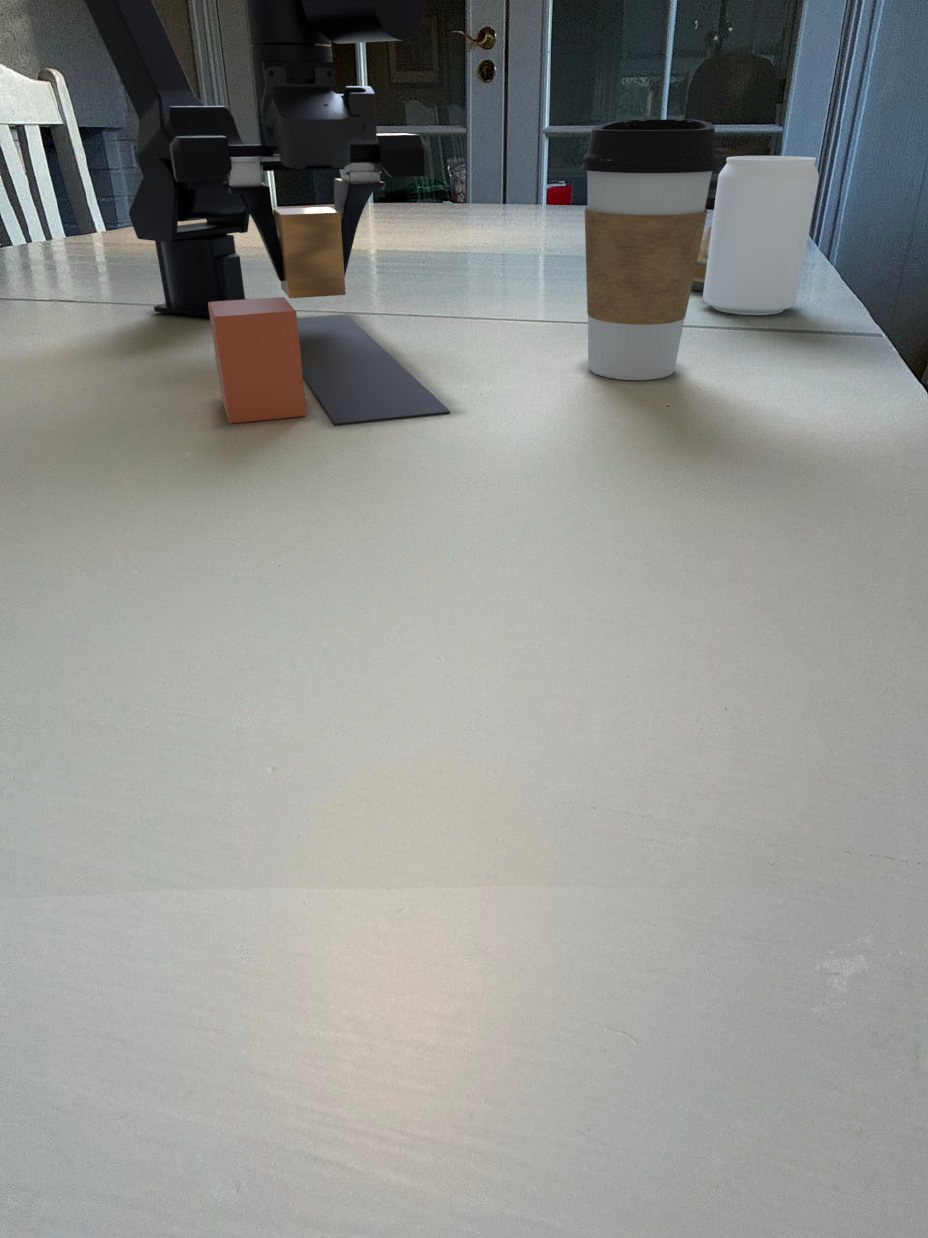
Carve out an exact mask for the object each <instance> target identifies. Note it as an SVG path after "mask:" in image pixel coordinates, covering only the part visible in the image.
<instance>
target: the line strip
mask: <svg viewBox="0 0 928 1238" xmlns="http://www.w3.org/2000/svg"><path fill="white" fill-rule="evenodd" d="M297 323H298V333H299V344H300V354H301V364H302V374H303V380H305V382H306V383H307V385H308V386H309V388H310V389H311V391H312V393H313V394H314V395H315V397H316V399H317V400H318V401H319V403H320V405H321V406H322V408H323V410H324V411H325V412H326V414H327V415H328V418H329V419H330V420H331V422H332V423H333V425H334V426H339V425H347V424H357V423H365V422H366V423H367V422H376V421H386V420H394V419H404V418H413V417H414V418H415V417H425V416H433V415H442V414H443V415H444V414H451V410H450V409H449V408H448V407H447V406H445V404H444V403H443V402H441V401H440V400H439V399H438V398H437V397H436V396H435V395H434V394H433V393H432V392H431V391H429V390H428V389H427V388H426V386H424V385H423V384H422V383H421V382H420V381H419V380H418V379H417V378H416V377H415V376H413V374H411V373H410V372H409V371H408V370H407V369H406V368H405V367H404V366H403V365H402V364H401V363H399V361H397V359H396V358H394V357H393V356H392V355H391V354H390V353H389V352H388V351H387V350H386V349H384V347H383V346H381V345H380V344H379V343H378V342H377V340H375V339H374V338H373V337H372V336H371V335H369V333H367V331H365V330H364V329H363V328H362V327H361V326H360V325H359V324H358V323H357V322H356V321H355V320H354V319H353V318H352V317H350V315H348V314H339V315H322V316H312V317H311V316H309V317H297Z"/></svg>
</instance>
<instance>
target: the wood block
mask: <svg viewBox="0 0 928 1238" xmlns="http://www.w3.org/2000/svg"><path fill="white" fill-rule="evenodd" d="M272 209H273V214H274V219H275V224H276V228H277V233H278V238H279V242H280V247H281V252H282V257H283V266H284V279H285V280H284V281H280V288H281V290H282V291H283V292H284V294H285V295H286V296H287V297H288V298H289V299H301V298H302V299H303V298H317V297H332V296H333V297H334V296H346V279H345V277H346V276H345V277H344V262H343V248H342V234H341V219H340V212H338V211H336V210H335V208H332V207H330V206H319V207H318V206H315V207H289V208H286V207H285V208H272Z"/></svg>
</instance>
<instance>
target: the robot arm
mask: <svg viewBox="0 0 928 1238" xmlns="http://www.w3.org/2000/svg"><path fill="white" fill-rule="evenodd" d="M83 1H84V3H85V5H86V7H87V9H88V11H89V14H90V16H91V18H92V21H93V23H94V25H95V27H96V29H97V31H98V34H99V35H100V37H101V40H102V42H103V45H104V46H105V49H106V50H107V53H108V55H109V57H110V59H111V62H112V63H113V66H114V67H115V70H116V72H117V74H118V76H119V78H120V81H121V83H122V86H123V88H124V89H125V91H126V93H127V95H128V98H129V100H130V103H131V105H132V107H133V108H134V110H135V113H136V115H137V119H138V122H139V123H138V133H137V145H136V160H137V162H138V166H139V168H140V171H141V174H142V176H143V177H142V179H141V182H140V184H139V187H138V189H137V191H136V193H135V196H134V199H133V202H132V203H131V206H130V209H129V211H128V217H129V221H130V222H131V225H132V227H133V231H134V232H135V236H136V238H137V239H138V240H143V241H153V242H154V244H155V250H156V256H157V261H158V267H159V273H160V278H161V279H160V280H161V284H162V290H163V297H164V303H161V304H157V305H154V306H153V310H154V312H155V313H164V314H173V315H183V316H193V317H201V318H210V314H209V307H208V302H215V301H230V300H246V299H247V298H246V295H245V288H244V280H243V271H242V270H243V269H242V262H241V257H240V254H239V253H237V251H236V243H235V242H236V241H235V235H234V234H237V233H238V234H244V233H245V234H246V233H248V231H249V225H250V224H249V223H250V217H251V219H252V221H253V223H254V225H255V227H256V230H257V231H258V234H259V237H260V239H261V241H262V244H263V246H264V248H265V250H266V252H267V255H268V257H269V259H270V262H271V264H272V267H273V270H274V272H275V275H276V277H277V279H278V280H279V282H281V281H284V280H285V279H284V266H283V257H282V252H281V247H280V242H279V238H278V233H277V228H276V224H275V219H274V214H273V209H274V208H273V202H272V195H271V194H272V193H271V187H270V185H268V184H266V183H265V182H263V177H264V176H265V175H264V172H282V171H284V172H285V171H324V170H339V173H340V178H334V179H333V195H334V197H333V198H334V199H333V201H334V205H333V206H334V207H333V209H334V210H336V211H338V212H340V219H341V234H342V248H343V262H344V277H346V274H347V270H348V265H349V261H350V258H351V253H352V249H353V244H354V241H355V237H356V233H357V229H358V226H359V223H360V220H361V217H362V214H363V212H364V209H365V207H366V205H367V203H368V201H369V200H370V198H371V196H372V194H373V193H374V192H375V191H384V190H385V187H386V182H385V181H381V174H382V173H386V174H387V175H388V177H391V178H401V177H402V178H408V177H410V178H411V177H429V176H430V151H429V147H428V143H427V141H426V140H425V139H424V138H423V137H422V135H421V134H418V133H417V134H416V133H403V132H402V133H398V132H397V133H377V128H378V127H377V125H378V121H377V120H378V119H377V107H376V94H375V91H374V90H373V88H372V87H371V86H369V85H363V86H362V85H350V86H349V85H347V86H344V88H343V93H339V90H338V86H337V83H336V74H335V73H336V72H335V69H334V68H335V67H334V62H333V50H332V49H333V47H332V42H333V43H335V44H343V45H344V44H356V43H357V44H359V43H375V42H378V43H379V42H395V41H397V42H398V41H405V40H408V39H411V38H412V37H413V36H414V35H415V34H416V33H417V31H418V30H419V29H420V27H421V25H422V22H423V19H424V16H425V12H426V6H427V0H245V9H246V18H247V26H248V37H249V46H250V56H251V66H252V73H253V74H252V76H253V83H254V93H255V101H256V111H257V121H258V130H259V139H260V144H245V143H244V141H243V140H242V138H241V137H240V133H239V131H238V127H237V124H236V122H235V121H236V120H235V118H234V116H233V114H232V113H231V112H230V110H229V109H228V107H227V106H225V105H206V104H204V103H203V102H202V101H201V100H200V99H199V98H198V97H197V96H196V94H195V93H194V90H193V88H192V86H191V84H190V82H189V79H188V77H187V75H186V73H185V70H184V68H183V66H182V64H181V61H180V59H179V57H178V55H177V53H176V51H175V48H174V46H173V44H172V41H171V39H170V37H169V35H168V32H167V31H166V28H165V26H164V24H163V21H162V19H161V17H160V15H159V12H158V11H157V8H156V5H155V4H154V2H153V0H83ZM274 151H277V152H278V153H275V154H274ZM199 220H205V221H203V222H195V223H186V224H178V222H180V223H181V222H191V221H199Z"/></svg>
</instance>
